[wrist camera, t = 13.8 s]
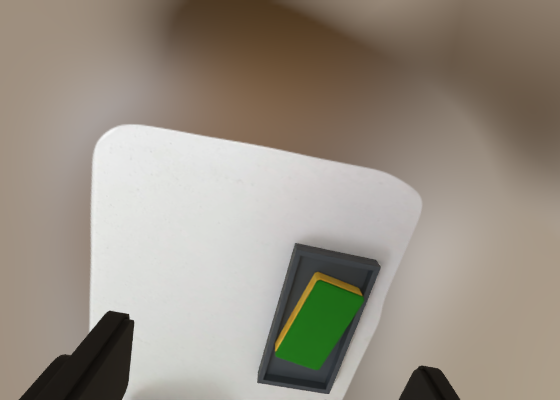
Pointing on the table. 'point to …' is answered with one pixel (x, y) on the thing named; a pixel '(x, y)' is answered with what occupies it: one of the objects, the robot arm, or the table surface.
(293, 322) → the dish sponge
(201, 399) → the table surface
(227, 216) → the table surface
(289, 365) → the tray
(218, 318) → the table surface
